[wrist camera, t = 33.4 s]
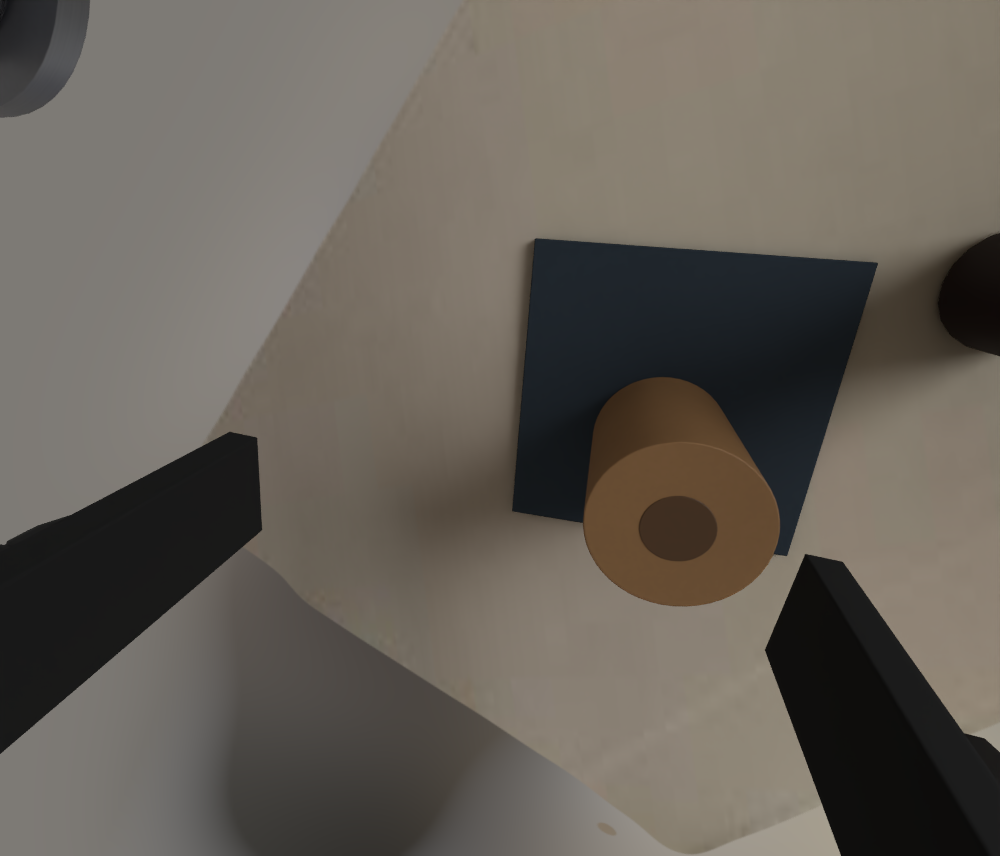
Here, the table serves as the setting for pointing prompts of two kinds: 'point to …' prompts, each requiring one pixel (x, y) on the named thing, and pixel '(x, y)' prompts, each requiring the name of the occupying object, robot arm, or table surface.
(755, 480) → the paper roll
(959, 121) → the table surface
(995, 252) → the bottle
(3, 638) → the robot arm
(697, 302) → the slate mat
